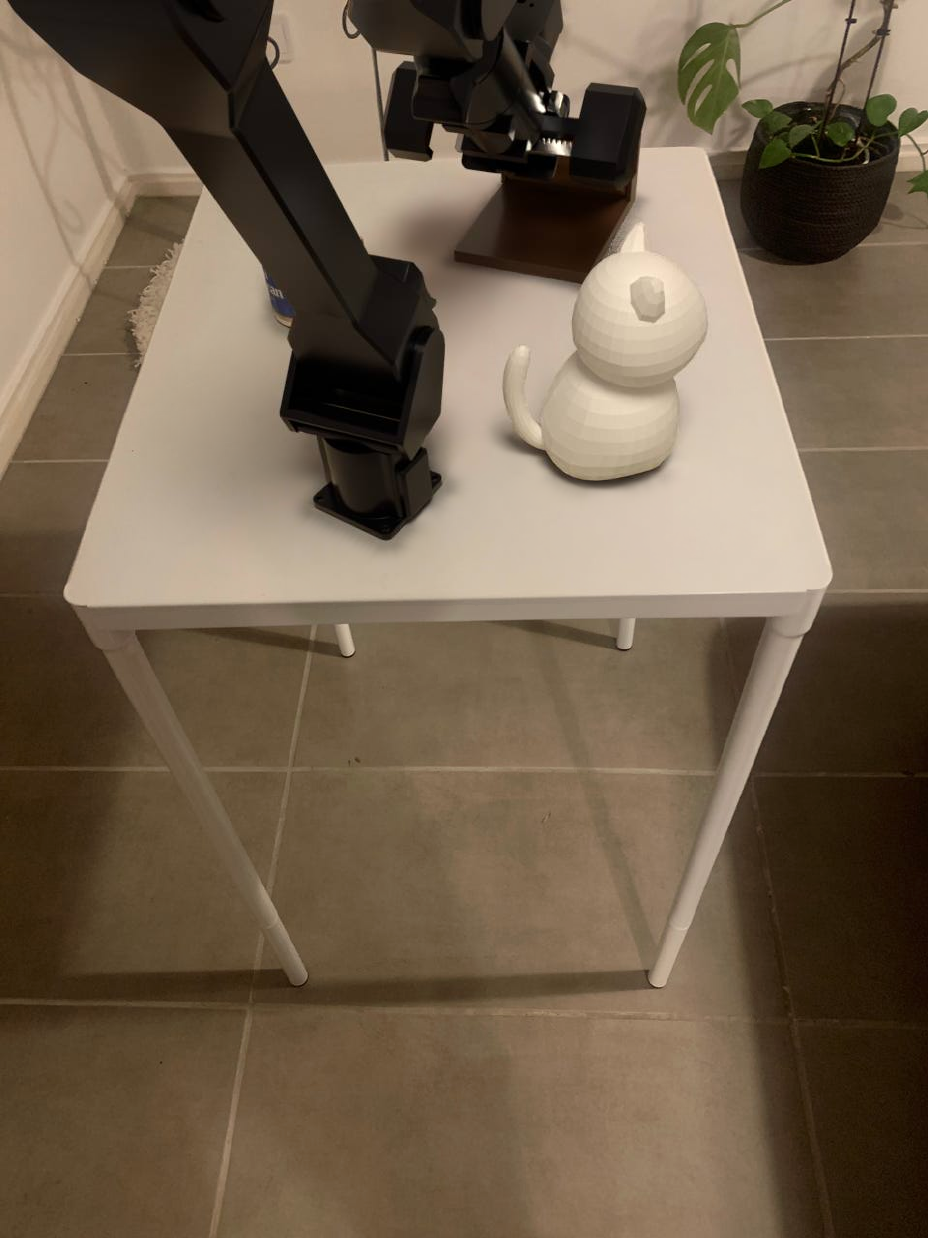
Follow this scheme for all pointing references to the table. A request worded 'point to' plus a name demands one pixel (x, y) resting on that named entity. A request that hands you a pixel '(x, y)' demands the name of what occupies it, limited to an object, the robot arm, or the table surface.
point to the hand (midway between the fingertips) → (536, 166)
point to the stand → (546, 228)
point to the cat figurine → (616, 367)
